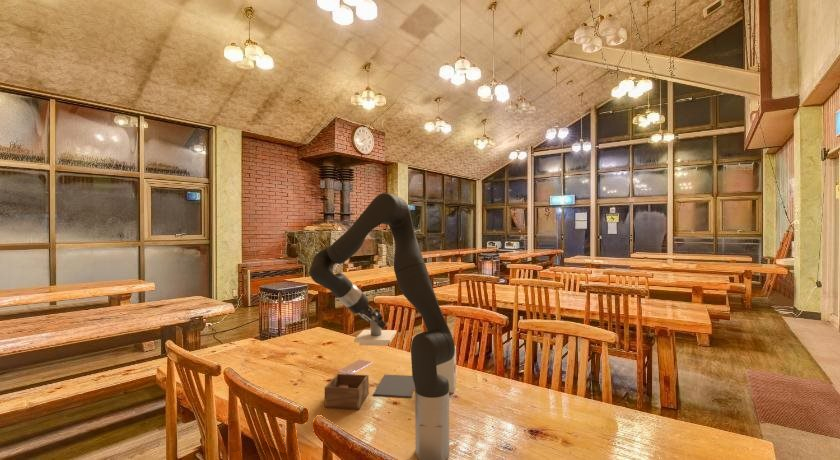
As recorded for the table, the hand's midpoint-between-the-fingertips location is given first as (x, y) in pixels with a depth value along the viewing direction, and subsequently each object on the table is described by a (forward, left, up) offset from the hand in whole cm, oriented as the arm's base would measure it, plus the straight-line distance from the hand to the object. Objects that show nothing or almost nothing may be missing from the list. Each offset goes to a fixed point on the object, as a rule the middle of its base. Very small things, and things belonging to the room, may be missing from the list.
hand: (380, 325), depth 142 cm
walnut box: (-10, +10, -24) cm, 28 cm away
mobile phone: (+22, +16, -25) cm, 37 cm away
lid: (-2, +1, -6) cm, 6 cm away
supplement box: (+5, -23, -25) cm, 34 cm away
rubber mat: (+4, -5, -24) cm, 25 cm away
